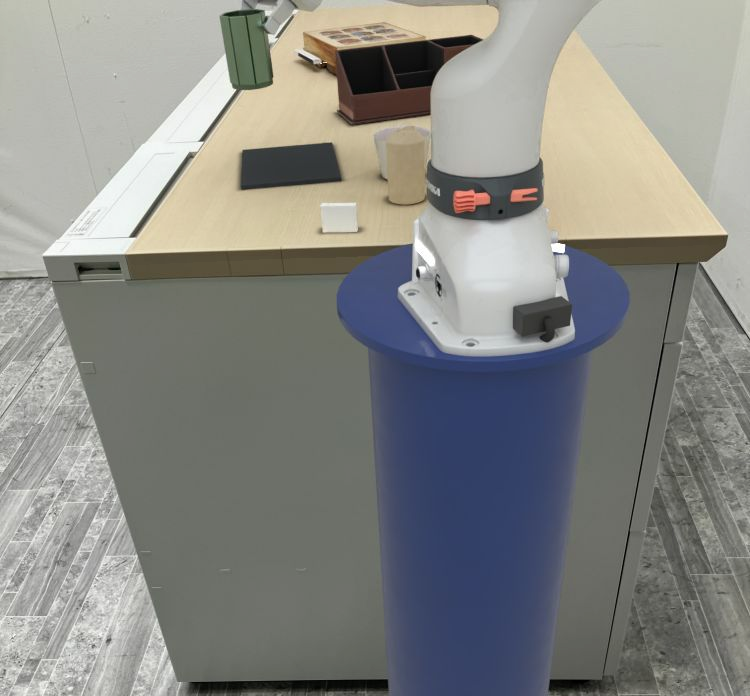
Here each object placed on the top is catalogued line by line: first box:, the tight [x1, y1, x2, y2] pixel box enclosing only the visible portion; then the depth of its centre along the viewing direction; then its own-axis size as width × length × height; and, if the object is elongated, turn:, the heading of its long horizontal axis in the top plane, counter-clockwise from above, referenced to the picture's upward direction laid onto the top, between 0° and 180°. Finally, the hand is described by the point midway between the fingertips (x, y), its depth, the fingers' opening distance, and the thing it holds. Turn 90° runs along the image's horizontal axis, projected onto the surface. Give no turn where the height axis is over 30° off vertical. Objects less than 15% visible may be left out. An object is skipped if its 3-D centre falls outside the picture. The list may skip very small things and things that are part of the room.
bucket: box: [219, 8, 274, 91], centre depth 121 cm, size 10×6×6 cm
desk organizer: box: [335, 34, 485, 126], centre depth 160 cm, size 10×29×11 cm, turn 108°
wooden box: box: [292, 21, 427, 76], centre depth 199 cm, size 25×6×28 cm
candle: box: [386, 125, 426, 205], centre depth 121 cm, size 6×6×10 cm
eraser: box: [319, 202, 359, 233], centre depth 114 cm, size 1×5×4 cm, turn 86°
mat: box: [240, 141, 342, 190], centre depth 139 cm, size 20×16×1 cm
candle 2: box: [372, 125, 431, 181], centre depth 130 cm, size 9×9×6 cm
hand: (252, 29), depth 120 cm, fingers closed on bucket, 6 cm apart
